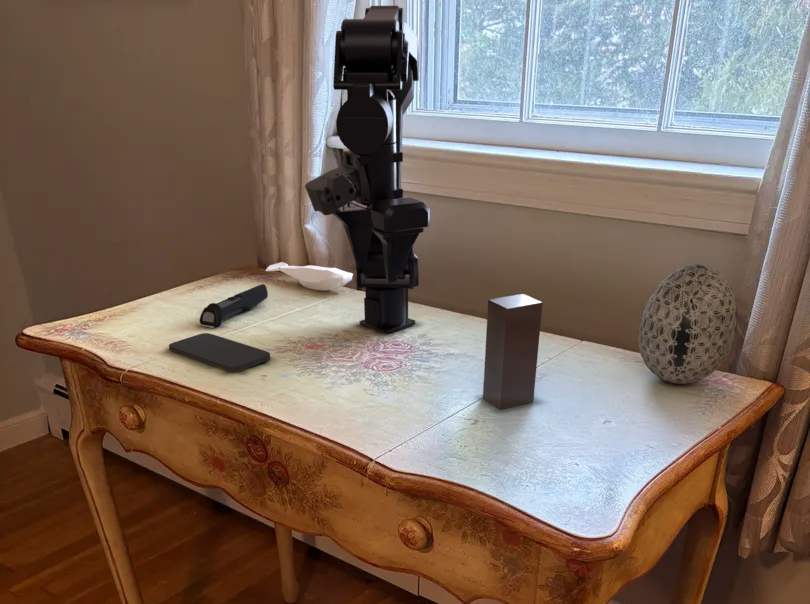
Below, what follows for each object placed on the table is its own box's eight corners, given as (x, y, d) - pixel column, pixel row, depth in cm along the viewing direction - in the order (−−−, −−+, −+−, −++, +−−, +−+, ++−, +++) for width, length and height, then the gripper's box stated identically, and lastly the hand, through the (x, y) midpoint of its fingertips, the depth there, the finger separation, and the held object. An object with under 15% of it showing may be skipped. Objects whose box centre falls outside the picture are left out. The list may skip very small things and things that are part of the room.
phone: (206, 331, 119) (273, 353, 111) (206, 337, 119) (274, 358, 111) (165, 345, 114) (232, 368, 106) (166, 350, 115) (233, 374, 107)
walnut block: (482, 398, 100) (487, 299, 93) (515, 391, 102) (522, 293, 95) (500, 409, 97) (507, 308, 90) (533, 402, 99) (542, 302, 92)
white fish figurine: (338, 299, 135) (337, 275, 133) (265, 281, 145) (262, 259, 142) (359, 292, 139) (358, 268, 137) (286, 275, 148) (284, 253, 146)
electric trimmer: (274, 303, 134) (273, 284, 133) (217, 329, 123) (214, 308, 121) (256, 300, 136) (254, 281, 134) (198, 325, 124) (195, 305, 122)
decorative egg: (727, 372, 107) (754, 258, 99) (718, 405, 98) (746, 282, 90) (639, 360, 111) (658, 249, 103) (623, 390, 102) (642, 271, 94)
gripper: (282, 138, 100) (292, 265, 108) (344, 157, 86) (350, 301, 94) (362, 133, 104) (365, 255, 112) (433, 150, 90) (431, 288, 99)
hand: (375, 273), depth 104 cm, fingers open, 9 cm apart
